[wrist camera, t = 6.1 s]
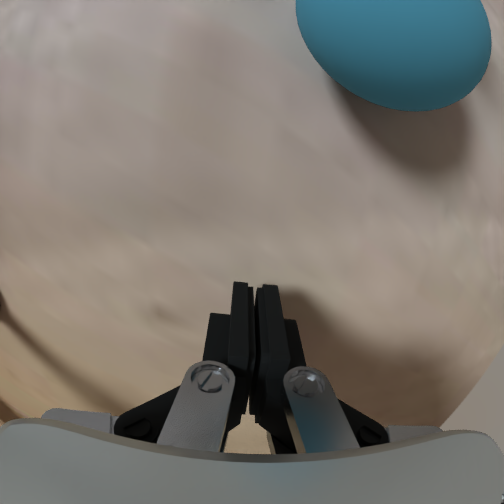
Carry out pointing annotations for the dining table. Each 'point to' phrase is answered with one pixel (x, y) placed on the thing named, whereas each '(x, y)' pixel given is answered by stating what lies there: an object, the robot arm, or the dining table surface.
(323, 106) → the dining table surface
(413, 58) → the ball
